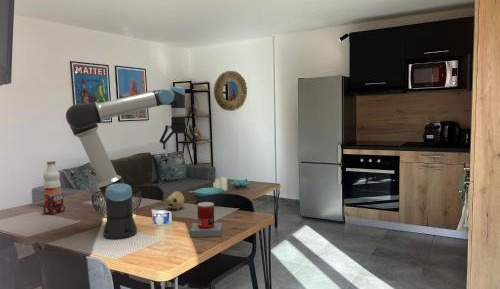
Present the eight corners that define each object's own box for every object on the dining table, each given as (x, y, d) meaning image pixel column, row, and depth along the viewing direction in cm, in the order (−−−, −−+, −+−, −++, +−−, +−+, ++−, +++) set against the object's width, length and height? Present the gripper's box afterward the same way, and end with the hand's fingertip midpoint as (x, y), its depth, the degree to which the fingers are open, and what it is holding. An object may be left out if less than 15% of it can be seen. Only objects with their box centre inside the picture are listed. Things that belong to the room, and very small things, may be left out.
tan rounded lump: (162, 210, 216) (161, 193, 216) (174, 206, 227) (173, 189, 227) (176, 212, 213) (175, 194, 212) (187, 207, 224) (187, 190, 223)
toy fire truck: (40, 214, 210) (39, 197, 210) (59, 209, 222) (58, 192, 221) (48, 216, 207) (47, 198, 207) (67, 210, 219) (66, 193, 218)
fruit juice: (63, 205, 231) (60, 161, 229) (46, 208, 225) (43, 163, 223) (60, 203, 239) (58, 160, 236) (43, 205, 233) (41, 161, 231)
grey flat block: (190, 237, 169) (190, 230, 169) (193, 229, 181) (193, 223, 181) (220, 236, 170) (220, 230, 169) (221, 228, 182) (221, 222, 181)
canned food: (211, 229, 171) (211, 206, 170) (195, 228, 172) (195, 205, 171) (216, 224, 178) (216, 202, 177) (200, 223, 180) (200, 201, 179)
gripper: (202, 116, 200) (202, 154, 202) (156, 116, 199) (157, 155, 201) (201, 116, 193) (201, 156, 195) (153, 116, 192) (154, 156, 193)
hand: (179, 155), depth 198 cm, fingers open, 13 cm apart
